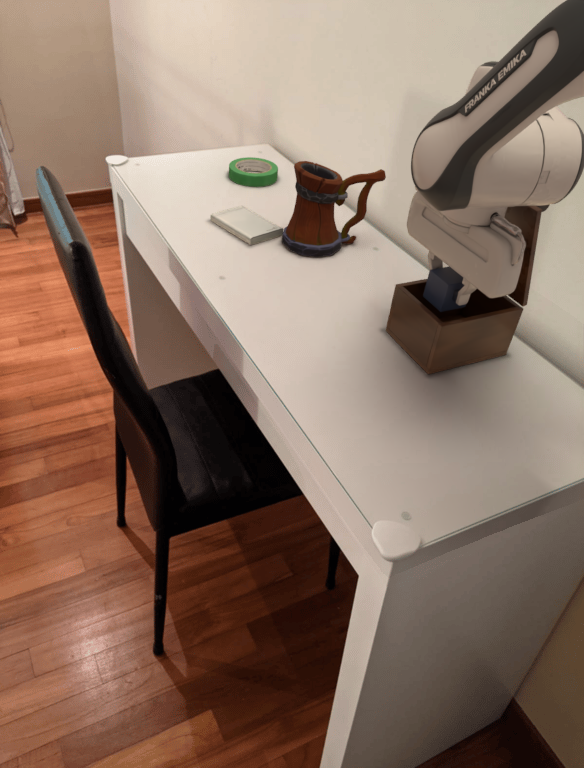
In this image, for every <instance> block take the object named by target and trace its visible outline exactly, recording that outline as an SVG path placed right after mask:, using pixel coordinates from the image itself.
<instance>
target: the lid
mask: <svg viewBox="0 0 584 768" xmlns="http://www.w3.org/2000/svg"><path fill="white" fill-rule="evenodd" d="M550 205H551V204H549V205H542V206H515V207H508V208H507V211H506V214H505V217H504V218H505V219H506V220H508V221H509V222H510V223H511V224H514V225H516V226H518V227H519V228H520V229H521V234H522V235H523V237H524V241H525V242H526V247H525V250H524V256H523V262H522V267H521V271H520V275H519V279H518V282H517V286H516V288H515V290H514V291H513V292H512V293H511V294H509V295H507V296H508V297H509V298H510V299H511V300H513V301H514V302H515V303H517V304H518V305H519V306H521V307H522V308H524V307H525V306H527V305H528V303H529V302H528V300H529V295H530V289H531V282H532V275H533V268H534V263H535V257H536V250H537V244H538V239H539V238H538V237H539V231H540V225H541V218H542V213H544V212H546V211H547V210H548V209H549V207H550ZM518 237H519V236H518ZM519 238H520V237H519Z"/></svg>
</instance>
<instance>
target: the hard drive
mask: <svg viewBox="0 0 584 768" xmlns="http://www.w3.org/2000/svg"><path fill="white" fill-rule="evenodd" d="M209 216H210V220H209V221H211V222H212V223H214V224H216V225H217V226H219V227H220V228H222V229H224V230H225V231H226V232H228V233H230V234H232V235H233V236H235V237H237V238H238V239H240V240H241V241H243V242H245V243H246V244H248V245H250V246H253V245H256V244H260V243H263V242H267V241H269V240H272V239H275V238H278V237H282V235H283V231H284V228H282V226H279V225H277V224H275V223H274V222H272V221H270V220H269V219H268V218H265V217H263V216H262V215H260V214H258V213H256V212H255V211H253V210H251V209H249V208H248V207H246V206H244V205H239V206H235V207H231V208H228V209H224V210H220V211H217V212H213V213H211V214H210V215H209Z"/></svg>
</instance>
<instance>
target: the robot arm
mask: <svg viewBox="0 0 584 768" xmlns="http://www.w3.org/2000/svg"><path fill="white" fill-rule="evenodd" d="M583 97H584V0H565V1H563V2H561V3H560V4H558V5H557V6H556V7H555V8H553V9H552V10H551V11H549V13H548V14H547V15H545V16H544V17H543V18H542V19H540V21H539V22H537V23H536V24H535V26H533V27H532V28H531V29H530V30H529V31H528V32H527V33H526V34H525V35H524V36H523V37H522V38H521V39H520V40H519V41H518V42H517V43H516V44H515V45H514V46H512V48H511V49H509V50H508V52H507V53H506V54H505V55H504V56H503V57H502V58H500V60H499V61H496V60H495V61H494V60H491V61H487V62H484V63H483V64H480V65H478V66H477V67H476V69H475V71H474V73H473V74H472V76H471V79H470V81H469V84H468V86H467V89H466V91H465V94H464V95H463V96H462V97H461V98H460V99H459V100H458V101H457V102H455V103H453V104H452V105H450V106H448V107H445V108H443V109H440V111H439V112H437V113H436V114H435V115H434V116H432V118H430V120H429V121H428V122H427V123H426V125H424V127H423V128H422V130H421V131H420V133H419V134H418V136H417V138H416V140H415V143H414V145H413V149H412V152H411V159H410V173H411V180H412V182H413V185H414V188H415V191H416V192H415V193H414V194H413V196H412V198H411V201H410V205H409V209H408V216H407V219H406V228H407V233H408V236H410V237H411V238H412V239H414V241H416V242H418V243H419V244H420V245H421V246H422V247H424V248H425V249H426V250H428V253H427V262H428V267H429V271H430V270H432V269H437V268H443V267H444V264H445V265H446V266H447V267H451V268H452V269H453V270H454V271H456V272H457V273H458V274H459V275H461V276H462V277H463V281H462V284H464V285H465V286H464V287H463V288H462V289H457V290H454V293H453V297H452V300H453V301H454V302H455V303H456V304H458V305H459V306H460V305H465V304H467V303H468V300H469V297H470V294H471V293H472V292H474V291H475V290H476V289H478V290H480V291H481V292H482V293H484V294H485V295H486V296H487V297H489V298H497V297H502V296H508V295H509V294H511V293H512V292H513V291H514V290H515V288H516V286H517V282H518V279H519V275H520V271H521V267H522V262H523V256H524V250H525V247H526V242H525V241H524V237H523V235H522V234H521V229H520V228H519V227H518V226H516V225H514V224H511V223H510V222H509V221H508V220H506V219H505V218H504V217H505V214H506V211H507V208H508V207H515V206H542V205H549V204H550V205H556V204H558V203H560V202H562V201H563V200H565V198H567V197H568V196H569V195H570V194H571V193H572V192H573V190H574V189H575V187H576V186H577V185H578V182H579V181H580V179H581V177H582V175H583V172H584V131H583V129H582V128H581V127H580V125H579V124H578V122H576V121H575V120H574V119H573V118H571V117H568V116H566V114H565V113H564V112H563V111H562V110H561V109H560V108H559V106H561V105H562V104H565V103H567V102H571V101H574V100H578V99H581V98H583ZM550 205H549V206H550ZM518 236H519V237H520V238H519V237H518ZM443 263H444V264H443Z"/></svg>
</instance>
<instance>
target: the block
mask: <svg viewBox="0 0 584 768" xmlns="http://www.w3.org/2000/svg"><path fill="white" fill-rule="evenodd" d="M427 275H428V276H427V278H426V279H427V283H426V286H425V290H424V294H423V297H424V298H425V299H426V300H427V301H429V302H430V303H431V304H432V305H433V306H434V307H435V308H437V309H438V310H439V311H440V312H444V311H449V310H453V309H458V308H463V307H465V306H466V304H465V305H460V306H459V305H458V304H456V303H455V302H454V301H453V300H452V297H453V293H454V290H457V289H462V288H463V287H464V286H465V285H464V284H462V281H463V277H462V276H461V275H459V274H458V273H457V272H456V271H454V270H453V269H452V268H451V267H449V266H445V267H444V266H443V268H437V269H432V270H430V269H429V271H428V274H427Z"/></svg>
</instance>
